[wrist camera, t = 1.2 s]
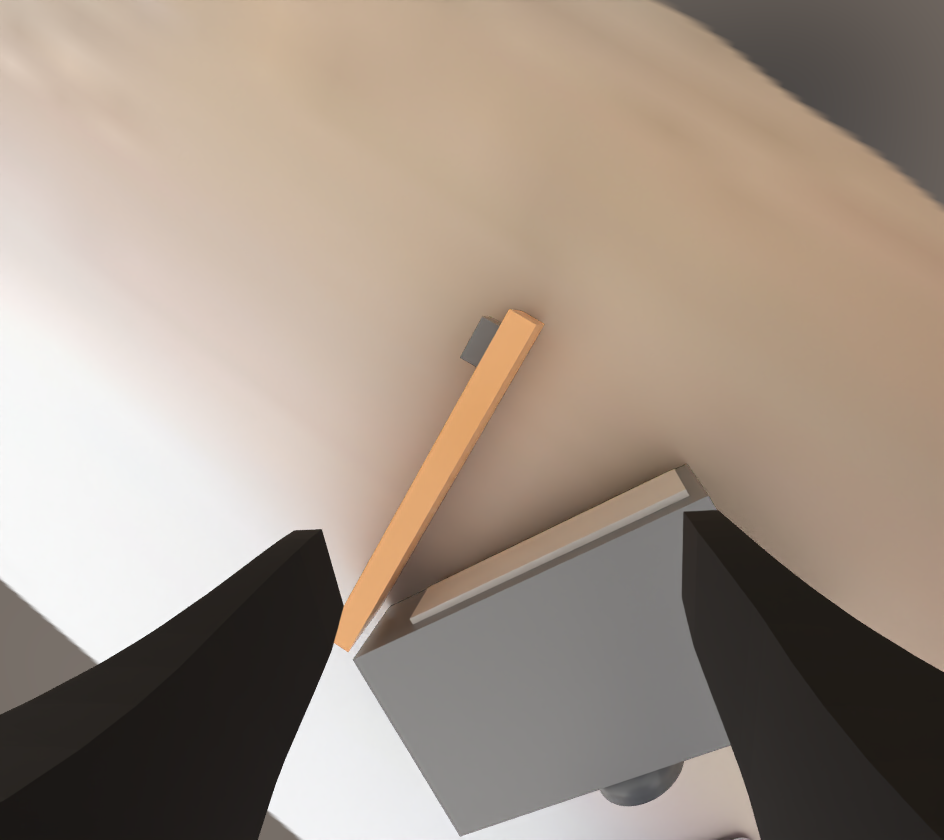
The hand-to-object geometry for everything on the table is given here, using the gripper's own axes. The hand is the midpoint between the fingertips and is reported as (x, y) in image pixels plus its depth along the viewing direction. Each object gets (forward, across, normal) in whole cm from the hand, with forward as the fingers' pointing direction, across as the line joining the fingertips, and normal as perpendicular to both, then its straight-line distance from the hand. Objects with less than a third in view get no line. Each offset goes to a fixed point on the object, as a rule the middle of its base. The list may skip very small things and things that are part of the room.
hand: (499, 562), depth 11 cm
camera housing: (+9, -1, +10) cm, 14 cm away
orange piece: (+11, +4, +3) cm, 12 cm away
